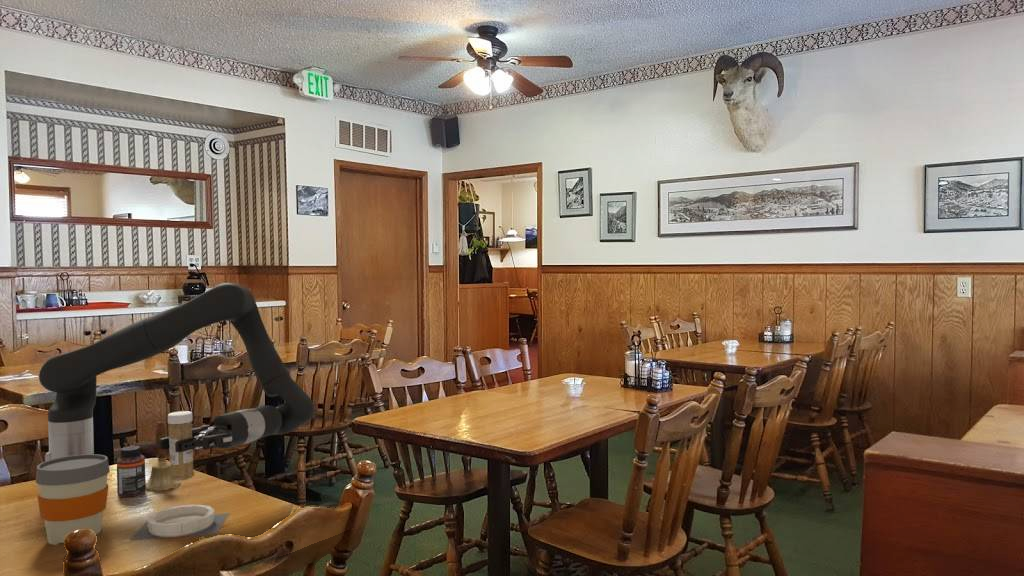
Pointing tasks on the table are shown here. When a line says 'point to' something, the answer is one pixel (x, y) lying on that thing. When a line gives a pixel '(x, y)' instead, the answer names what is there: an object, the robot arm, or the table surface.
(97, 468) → the reusable coffee cup
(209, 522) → the white round tray
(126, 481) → the supplement bottle
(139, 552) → the table surface
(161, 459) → the hand bell
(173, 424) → the sprinkles bottle
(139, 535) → the mat
